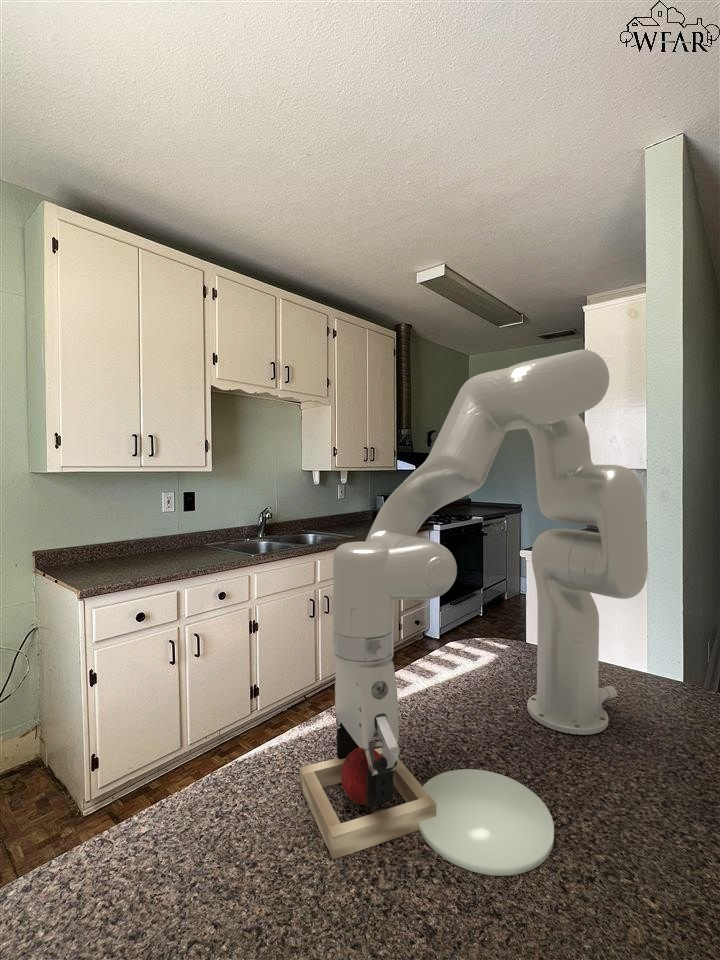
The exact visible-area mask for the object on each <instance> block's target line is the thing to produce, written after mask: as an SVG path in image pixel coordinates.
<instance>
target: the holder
mask: <svg viewBox="0 0 720 960" xmlns="http://www.w3.org/2000/svg"><path fill="white" fill-rule="evenodd" d="M374 750H375V751H377V752H378V753H379V754H380V755H381V756H382V757H383V748H378V749H374ZM345 759H346V758H345ZM345 759H338V757H336V758H333V759H328V760H325V761H321V762H317V763H313V764H309V765H306V766H300V767H299V787H300V790H301V793H302V794H303V796H304V799H305V801H306V803H307V805H308V808H309V810H310V812H311V814H312V816H313V819H314V821H315V823H316V825H317V827H318V830H319V832H320V834H321V836H322V839H323V840H324V843H325V845H326V847H327V850H328V851H329V854H330V856H331V858H332V860H336V859H338V858H339V859H340V858H342V857H345V856H348V855H351V854H353V853H357V852H359V851H362V850H366V849H368V848H372V847H374V846H377V845H381V844H382V843H386V842H389V841H391V840H394V839H397V838H400V837H404V836H407V835H408V834H412V833H415V832H418V831H419V822H420V821H423V820H426V819H429V818H432V817H435V816H436V803H435V801H434V800H433V799H432V798H431V797H430V795H429V794H428V793H427V792H426V791H425V789H424V788H423V785H421V783H420V782H419V781H418V780H417V778H415V776H414V774H412V773H411V771H410V770H409V769H408V768H407V766H406V765H405V764H404V763H403V762H402V761H401V759H400V758H399V757H398V759H397V766H396V767H395V770H393V788H395V789H396V790H397V792H398V793H399V795H400V796H401V797H402V799H403V800H404V801H405V803H402V804H399V805H395V806H393V807H388V808H386V809H383V810H380V811H376V812H373V813H371V814H366V815H364V816H360V817H358V818H354V819H351V820H348V821H345V822H342V823H341V821H340V819H339V817H338V815H337V814H336V811H335V809H334V808H333V805H332V804H331V802H330V800H329V798H328V795H327V794H326V792H325V789H323V788H327V787H330V786H334V785H338V784H342V780H341V770H342V766H343V763H344V761H345Z"/></svg>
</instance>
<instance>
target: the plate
mask: <svg viewBox="0 0 720 960" xmlns="http://www.w3.org/2000/svg"><path fill="white" fill-rule="evenodd" d="M422 787H423V788H424V789H425V791H426V792H427V793H428V794H429V795H430V797H431V798H432V799H433V800H434V801H435V803H436V816H435V817H432V818H429V819H426V820H423V821H420V822H419V830H418V831H419V833H420V834H421V836H422V838H423V840H424V841H425V842H426V844H428V845H429V847H430V848H431V849H432V850H433V851H434V852H435V853H437V854H438V855H439V856H440V857H442V858H443V859H444V860H446V861H448V862H450V863H451V864H453V865H455V866H457V867H459V868H462V869H464V870H467V871H470V872H474V873H475V874H481V875H485V876H486V875H487V876H495V877H497V876H498V877H504V876H506V877H508V876H509V877H510V876H516V875H521V874H524V873H527V872H529V871H532V870H534V869H536V868H538V867H539V866H540V865H542V864H543V863H544V862H545V861H546V860H547V859H548V857H549V856H550V854H551V853H552V851H553V847H554V843H555V842H554V841H555V823H554V820H553V816H552V815H551V813H550V810H549V809H548V807H547V805H546V804H545V803H544V802H543V801H542V798H540V797H539V796H538V795H537V794H536V793H534V792H533V791H532V790H531V789H529V788H528V787H526V785H524V784H523V783H521V782H518V781H517V780H515V779H514V778H511V777H508V776H505V775H503V774H500V773H497V772H493V771H489V770H483V769H474V768H473V769H472V768H471V769H470V768H469V769H468V768H463V769H462V768H461V769H454V770H449V771H446V772H442V773H439V774H437V775H435V776H433V777H431V778H430V779H429V780H428V781H426V782H425V783H424V784H423V785H422Z"/></svg>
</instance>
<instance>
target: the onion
mask: <svg viewBox="0 0 720 960" xmlns="http://www.w3.org/2000/svg"><path fill="white" fill-rule="evenodd" d="M373 752H374V757H375V761H377V760H378V759H379V758H380V757H382V756H381V755H380V754H379V753H378V752H377V751H375V750H373ZM369 770H370V769H369V765H368V761H367V757H366V752H365V750H363V749H362V748H360V747H358V748H356V749H354V750H353V751H352V752H351V753H349V755H348V756H347V757H346V759H345V761H344V763H343V766H342V770H341V780H342V782H341V786H342V789H343V791H344V793H345V795H346V796H347V797H348V798H349V799H350V800H351V801H352V802H354V803H355V804H357V805H361V806H368V805H367V803H366V771H369Z"/></svg>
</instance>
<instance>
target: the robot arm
mask: <svg viewBox="0 0 720 960" xmlns="http://www.w3.org/2000/svg"><path fill="white" fill-rule="evenodd" d="M607 365H608V364H607V363H606V361H605V360H604V359H603V357H602V356H600V355H599V354H598V353H596V352H595V351H592V350H590V349H578V350H577V349H576V350H573V351H569V352H564V353H559V354H558V353H557V354H555V355H550V356H545V357H540V358H536V359H530V360H526V361H523V362H520V363H516V364H513V365H510V366H509V367H507V368H506V367H505V368H502V369H501V368H500V369H496V370H491V371H487V372H483V373H479V374H477V375H475V376H472V377H471V378H469V379H468V380H466V382H464V384H463V385H462V386H461V387H460V389H459V390H458V392H457V395H456V397H455V399H454V401H453V403H452V405H451V407H450V409H449V411H448V414H447V416H446V417H445V421H444V422H443V425H442V427H441V429H440V431H439V433H438V435H437V437H436V440H435V441H434V443H433V445H432V447H431V450H430V452H429V455H428V456H427V457H426V459H425V461H424V462H423V463H422V464H421V465H419V466H418V467H417V468H416V469H415V470H414V471H412V473H411V474H409V475H408V477H407V478H406V479H404V481H403V482H402V483H401V484H400V485H398V487H396V488H395V490H394V491H393V492H392V493H391V494H390V495H389V496H388V497H387V499H386V500H385V502H384V503H383V505H382V506H381V507H380V510H379V511H378V512H377V515H376V517H375V519H374V521H373V522H372V525H371V527H370V530H369V532H368V534H367V536H366V539H365V541H351V542H345V543H341V544H340V545H339V546H337V547H336V549H335V550H334V552H333V557H332V560H333V561H332V612H333V613H332V635H333V636H332V657H333V658H334V659H335V660H336V664H335V681H334V682H335V683H334V701H335V702H334V706H335V712H336V718H335V724H336V727H338V728H336V758H338V759H345V758H346V757H347V756H348V755H349V753H351V752H352V751H353V750H354V749H356V748H358V747H360V748H362V749H363V750H365V752H366V757H367V761H368V765H369V769H370V770H369V771H366V803H367V805H366V806H367V807H368V808H373V807H376V806H379V805H383V804H386V803H390V802H392V801H393V799H394V785H393V770H395V767H396V766H397V759H398V758H399V755H400V747H399V746H400V745H399V744H398V742H399V738H400V720H399V699H398V688H397V686H398V685H397V679H396V678H397V677H396V672H395V671H396V670H395V665H394V661H393V660H392V659H393V658H394V638H395V637H394V631H395V630H394V627H395V626H394V624H395V623H394V621H395V619H394V615H395V611H394V610H395V609H394V608H395V607H394V606H395V603H394V602H395V601H401V600H409V601H410V600H411V601H412V600H413V601H414V600H415V601H416V600H417V601H426V600H432V599H436V598H439V597H440V596H443V595H444V594H446V593H447V592H448V591H449V590H450V589H451V588H452V586H453V585H454V583H455V581H456V578H457V574H458V566H457V562H456V559H455V557H454V555H453V553H452V552H451V551H450V549H448V548H447V547H446V546H444V545H442V544H441V543H439V542H437V541H433V540H430V539H427V538H422V537H416V535H417V533H418V531H419V530H420V528H421V527H422V525H423V524H424V522H425V521H426V520H427V519H428V518H429V517H431V516H432V514H434V513H435V512H436V511H438V510H439V509H441V508H442V507H444V506H446V505H448V504H450V503H453V502H455V501H458V500H459V499H462V498H463V497H465V496H468V495H471V494H472V493H474V492H476V491H478V490H479V489H480V488H481V487H483V485H484V484H485V482H486V479H487V477H488V474H489V472H490V470H491V467H492V465H493V462H494V461H495V459H496V456H497V454H498V451H499V449H500V447H501V444H502V442H503V440H504V437H505V436H506V434H507V433H508V431H511V430H512V431H515V430H524V429H526V430H527V432H528V433H529V435H530V437H531V440H532V447H533V453H534V469H535V481H536V482H535V483H536V484H535V485H536V497H537V504H538V508H539V510H540V513H541V514H542V515H543V516H545V517H546V518H547V519H550V520H552V521H556V522H560V523H570V524H575V525H584V526H585V525H587V526H595V527H597V529H598V532H595V531H590V530H589V531H588V530H580V529H574V528H561V527H560V528H552V529H548V530H545V531H544V532H542V533H540V534H539V535H538V536H537V537H536V539H535V540H534V542H533V544H532V548H531V564H532V570H533V575H534V580H535V586H536V595H537V596H536V600H537V601H536V602H537V630H536V631H537V634H536V635H537V642H536V643H537V647H536V649H537V652H536V654H537V655H536V656H537V657H536V658H537V661H536V662H537V663H536V666H537V667H536V668H537V669H536V694H535V693H534V694H533V695H531V696H529V698H528V700H527V702H526V703H527V704H526V708H527V712H528V714H529V715H530V717H532V718H533V719H534V720H535V721H536V722H537V723H538V724H540V725H542V726H544V727H546V728H548V729H551V730H554V731H556V732H560V733H564V734H568V733H569V735H570V734H571V735H576V734H577V735H578V736H579V735H580V736H582V735H583V736H587V735H589V736H590V735H595V734H598V733H601V732H604V731H605V730H606V729H607V727H608V725H609V715H608V712H607V711H606V710H605V709H604V707H603V706H602V704H603V703H604V702H605V701H606V700H610V699H614V698H616V697H617V696H618V692H617V689H616V688H615V687H614V686H613V685H607V686H604V687H601V688H600V687H599V664H600V662H599V653H600V652H599V651H600V650H599V645H600V615H599V611H598V607H597V603H596V602H595V600H594V598H593V596H592V594H595V595H600V596H603V597H609V598H613V599H621V600H626V599H627V600H628V599H632V598H634V597H636V596H638V595H639V594H641V592H642V590H643V589H644V587H645V584H646V581H647V578H648V577H647V576H648V571H649V570H648V569H649V568H648V567H649V566H648V565H649V558H648V556H649V555H648V534H647V533H648V532H647V510H646V508H647V507H646V506H647V505H646V498H645V491H644V488H643V485H642V483H641V481H640V478H639V477H638V476H637V474H636V473H635V471H633V470H632V469H630V468H628V467H626V466H623V465H619V464H594V463H593V461H592V454H591V444H590V436H589V432H588V431H589V430H588V429H587V426H586V424H585V422H584V421H583V419H582V418H581V416H580V414H582V413H583V412H587V411H589V410H592V408H595V407H596V406H597V405H599V403H600V402H601V401H602V400H603V399H604V397H605V396H606V394H607V391H608V388H609V385H610V372H609V367H608V366H607ZM376 737H378V738H379V740H377V741H374V742H372V740H373V738H376ZM378 748H383V757H380V758H379V759H378V760H377V761H375V757H374V752H373V750H374V749H378Z"/></svg>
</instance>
